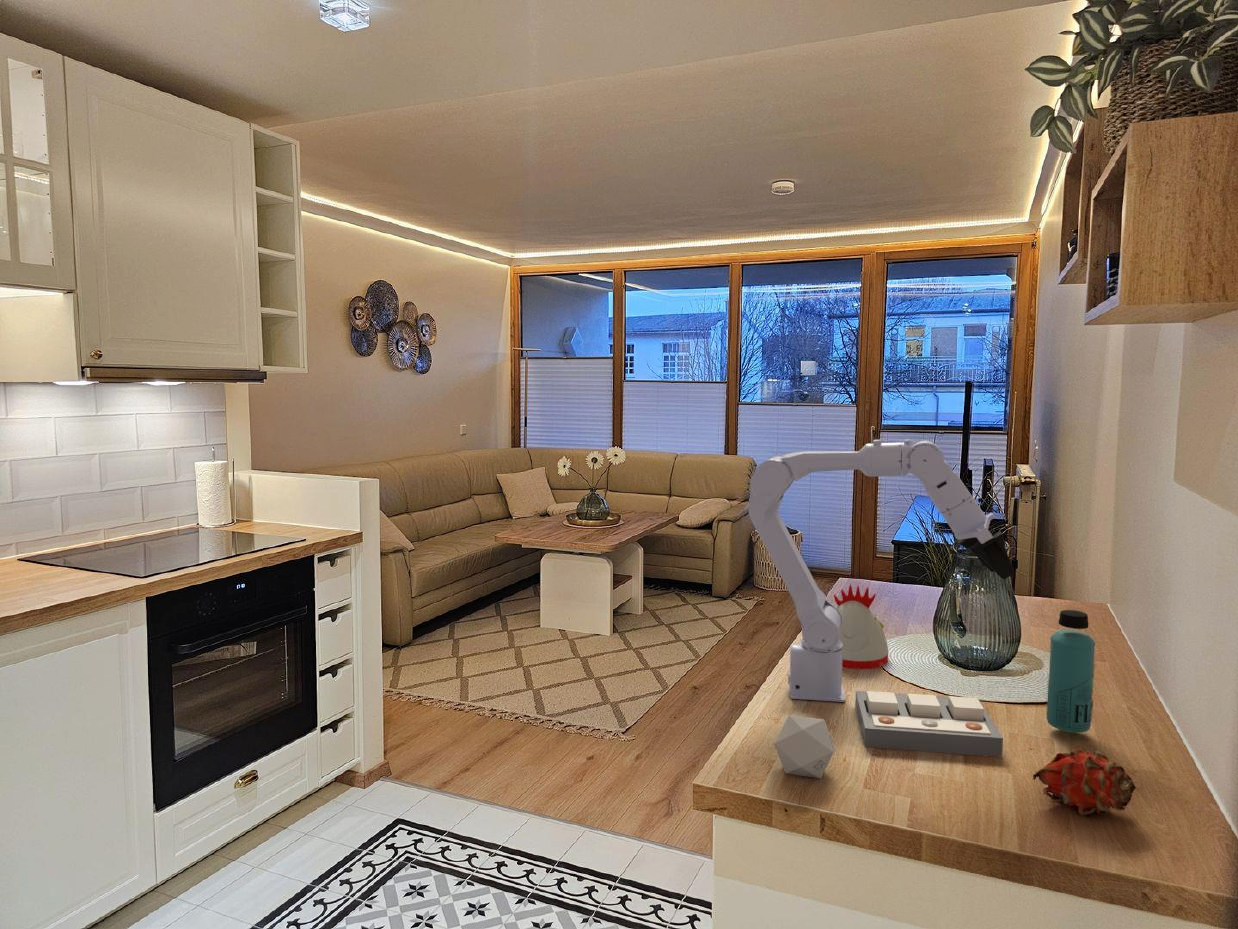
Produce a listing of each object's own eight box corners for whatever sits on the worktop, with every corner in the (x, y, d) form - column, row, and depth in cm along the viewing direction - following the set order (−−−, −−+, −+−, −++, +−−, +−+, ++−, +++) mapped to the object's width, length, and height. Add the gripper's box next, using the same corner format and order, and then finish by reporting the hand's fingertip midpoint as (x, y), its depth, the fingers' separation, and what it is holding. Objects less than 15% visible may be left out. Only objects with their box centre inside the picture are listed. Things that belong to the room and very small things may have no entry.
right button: (953, 719, 130) (954, 707, 130) (948, 707, 134) (948, 696, 134) (983, 721, 129) (983, 709, 129) (976, 709, 133) (977, 698, 133)
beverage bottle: (1074, 745, 127) (1081, 620, 124) (1035, 729, 132) (1041, 609, 130) (1100, 736, 130) (1108, 614, 127) (1060, 721, 135) (1067, 604, 133)
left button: (869, 713, 132) (869, 701, 132) (866, 702, 137) (866, 691, 136) (897, 715, 132) (897, 703, 131) (893, 704, 136) (894, 692, 136)
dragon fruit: (1142, 834, 105) (1038, 826, 111) (1130, 772, 111) (1032, 768, 116) (1143, 801, 100) (1034, 794, 106) (1130, 739, 106) (1028, 735, 112)
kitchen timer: (886, 673, 158) (888, 597, 156) (813, 664, 162) (815, 591, 160) (888, 649, 170) (891, 579, 169) (821, 642, 175) (823, 574, 173)
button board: (864, 746, 127) (865, 726, 126) (855, 707, 141) (855, 688, 141) (1002, 757, 123) (1003, 736, 123) (977, 715, 138) (978, 696, 137)
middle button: (911, 716, 131) (911, 704, 131) (906, 705, 135) (907, 693, 135) (940, 718, 130) (940, 706, 130) (934, 707, 135) (935, 695, 134)
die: (807, 797, 113) (847, 741, 113) (756, 755, 117) (796, 700, 117) (813, 790, 121) (851, 737, 121) (765, 751, 124) (802, 699, 124)
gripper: (987, 493, 129) (1037, 566, 128) (967, 488, 143) (1013, 553, 142) (947, 517, 130) (997, 589, 129) (932, 510, 144) (976, 575, 143)
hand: (1002, 572), depth 135 cm, fingers open, 7 cm apart
